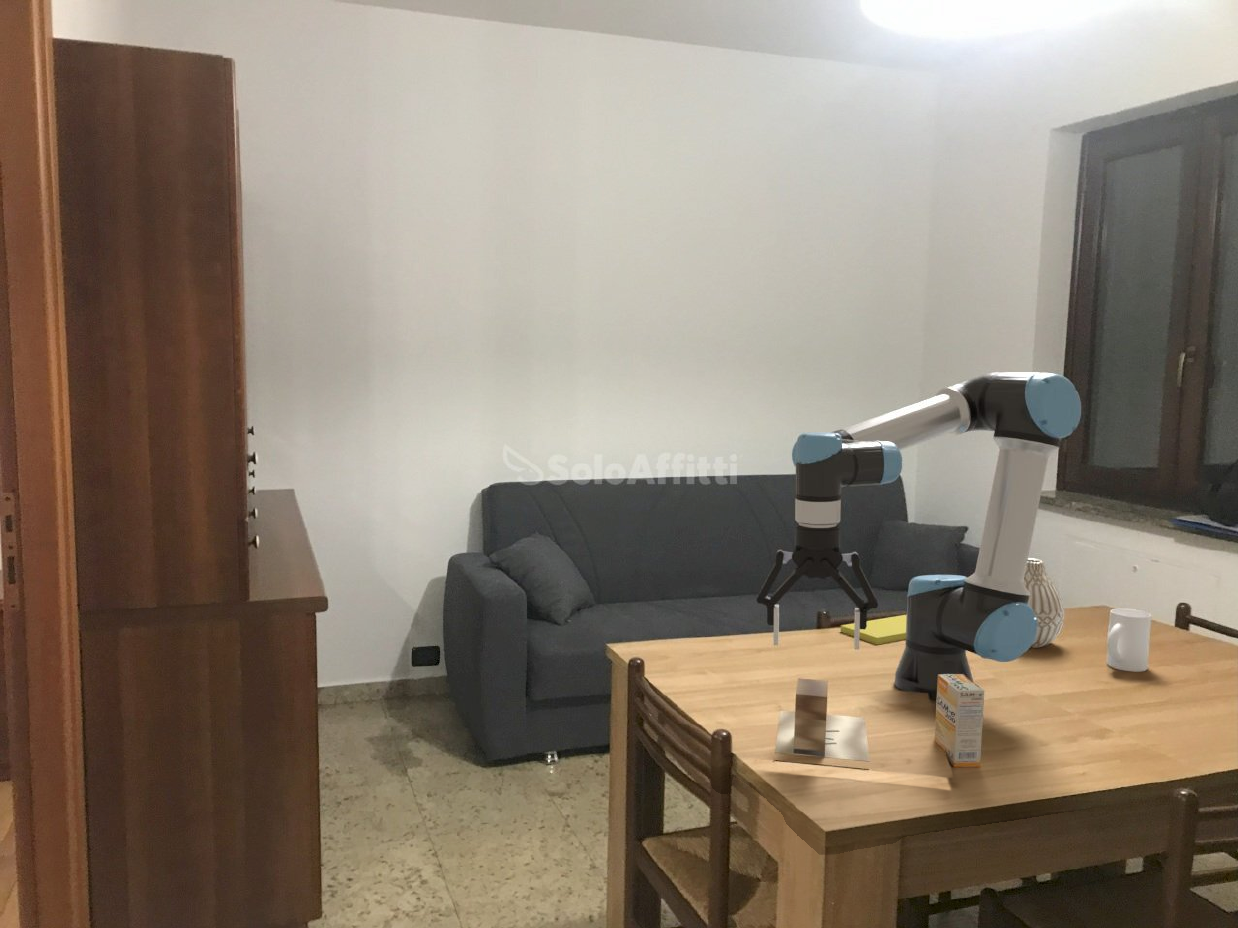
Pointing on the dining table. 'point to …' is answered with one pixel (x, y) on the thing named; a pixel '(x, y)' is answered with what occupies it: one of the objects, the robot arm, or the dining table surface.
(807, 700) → the block
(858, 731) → the board
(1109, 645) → the mug
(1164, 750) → the dining table surface
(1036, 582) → the vase
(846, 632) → the yellow rectangular slab
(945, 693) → the supplement box
